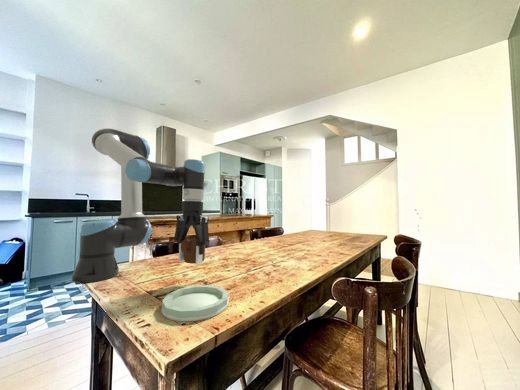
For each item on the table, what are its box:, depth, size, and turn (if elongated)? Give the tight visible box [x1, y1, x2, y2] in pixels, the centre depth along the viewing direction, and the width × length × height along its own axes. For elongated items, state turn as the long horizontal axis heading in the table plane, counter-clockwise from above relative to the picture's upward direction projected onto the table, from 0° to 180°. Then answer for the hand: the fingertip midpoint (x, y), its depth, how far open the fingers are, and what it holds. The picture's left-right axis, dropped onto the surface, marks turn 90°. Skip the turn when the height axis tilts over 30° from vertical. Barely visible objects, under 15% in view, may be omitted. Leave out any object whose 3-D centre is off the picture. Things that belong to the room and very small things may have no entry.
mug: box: [181, 234, 206, 264], centre depth 80 cm, size 12×8×9 cm, turn 163°
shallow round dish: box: [161, 284, 230, 323], centre depth 63 cm, size 19×19×2 cm
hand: (190, 261), depth 80 cm, fingers closed on mug, 7 cm apart
